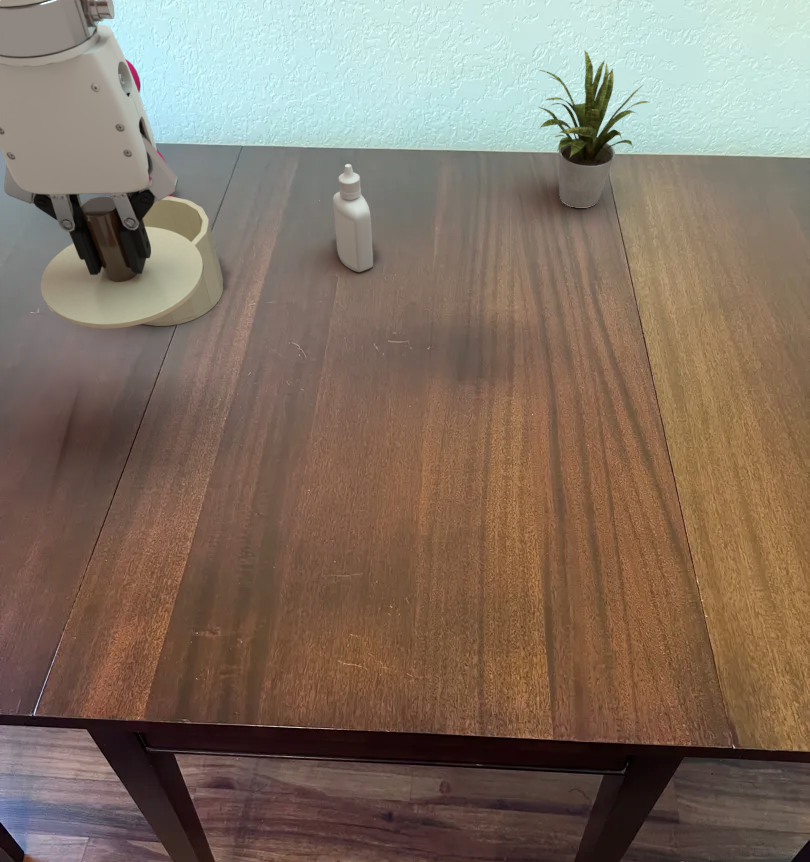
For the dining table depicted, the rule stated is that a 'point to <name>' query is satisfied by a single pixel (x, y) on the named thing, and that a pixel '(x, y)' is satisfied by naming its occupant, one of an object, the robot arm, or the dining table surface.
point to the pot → (197, 229)
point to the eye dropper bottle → (352, 223)
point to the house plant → (587, 140)
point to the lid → (120, 275)
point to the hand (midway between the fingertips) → (119, 262)
